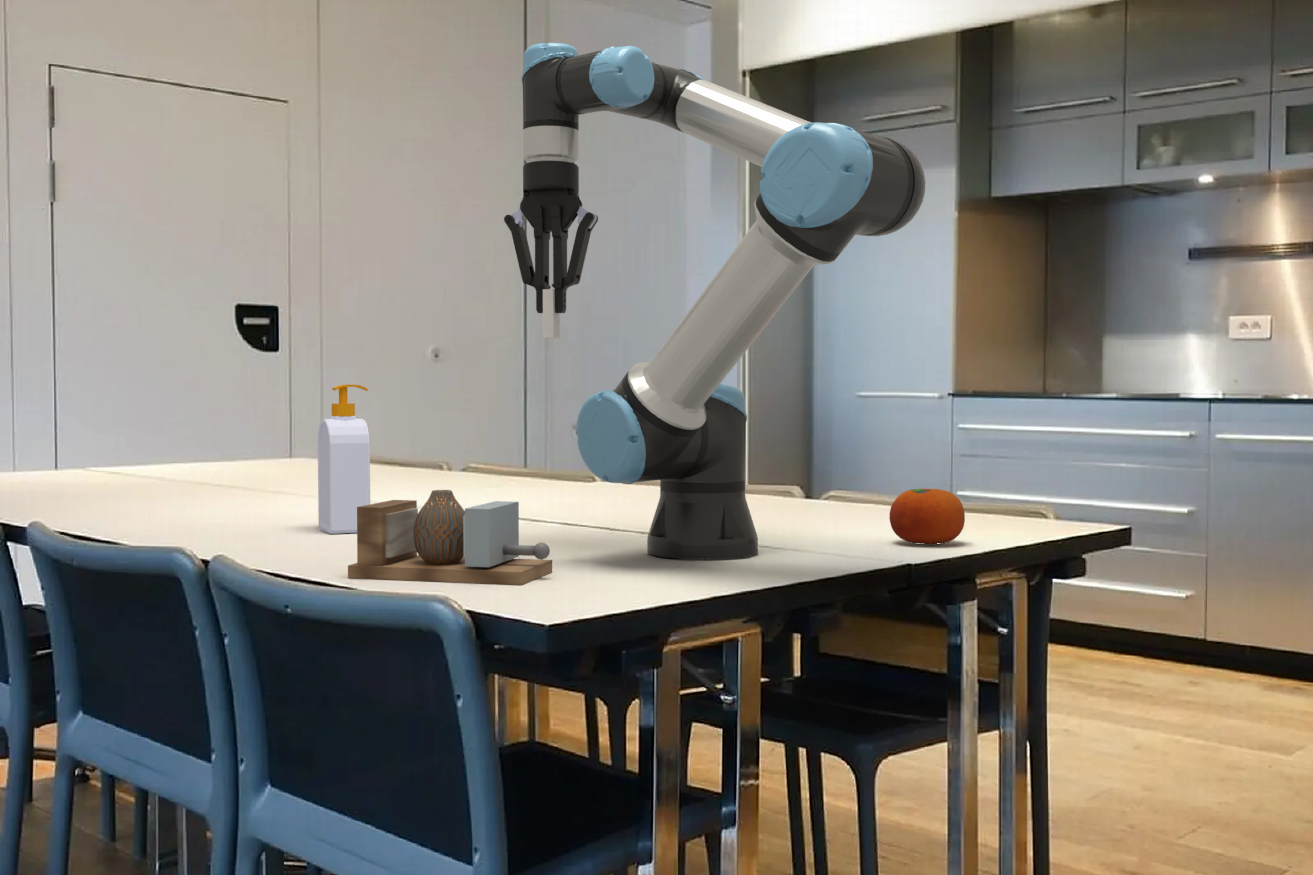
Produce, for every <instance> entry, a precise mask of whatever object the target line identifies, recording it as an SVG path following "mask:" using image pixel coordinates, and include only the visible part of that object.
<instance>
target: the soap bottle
mask: <svg viewBox="0 0 1313 875" xmlns="http://www.w3.org/2000/svg"><path fill="white" fill-rule="evenodd" d="M348 388H357V389H360V390H364V391H365V392H368V390H369V388H367V387H365V386H362V385H360V384H339V385H336V386H334V387H332V388H331V389H332V391H338V403H331V416H330V418H325V419H322V420H321V421H320V423H319V427H318V434H317V482H318V483H317V484H318V485H317V487H318V488H317V489H318V490H317V494H318V496H317V497H318V498H317V499H318V501H317V502H318V503H317V504H318V506H317V507H318V529H319V530H320V529H321V531H323V532H325V533H327V534H329V535H345V533H350V534H357V507H359V506H364V505H370V504H371V443H370V442H371V440H370V439H371V438H370V433H369V427H368V424H367V421H366V420H364V418H357V416H356V411H355V410H356V403H348Z"/></svg>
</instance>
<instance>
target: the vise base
mask: <svg viewBox="0 0 1313 875" xmlns="http://www.w3.org/2000/svg"><path fill="white" fill-rule="evenodd" d="M417 502H418V501H417V499H416V500H415V499H414V500H413V499H411V500H408V499H406V500H405V499H391V500H386V501H381V502H375V503H370V505H364V506H359V507H357V533H356V537H357V538H356V539H357V540H356V545H357V546H356V548H357V550H356V553H357V556H356V559H357V562H355V563H352V564H349V565H347V579H360V580H361V579H362V580H363V579H364V580H391V581H415V582H437V583H463V584H486V585H488V584H490V585H491V584H492V585H509V586H510V585H512V586H513V585H514V586H516V585H517V586H523V585H525V584H527V583H528V584H529V583H530V582H532V581H534V580H537V579H539V578H542V577H545V576H546V575H549V574H551V573H553V559H538V558H536V559H535V558H534V559H533V558H531V559H530V558H513V559H511V560H508V561H505V562H502V563H500V564H497V565H494V566H491V567H468V566H465V558H464V557H463V558H462V559H461V560H460V561H459V562H458V563H453V564H429V563H426V562H425V561H424V560H423V559H422V558H421V557H420V556H419V554H418V553H417V551H416V548H415V544H414V538H413V529H414V523H415V520H416V517H417V515H418V513H419V508H418V504H417Z"/></svg>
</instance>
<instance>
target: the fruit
mask: <svg viewBox="0 0 1313 875" xmlns="http://www.w3.org/2000/svg"><path fill="white" fill-rule="evenodd" d="M965 514H966V513H965V509H964V505H963V503H962V501H961V500H960V499H959V497H957V496H956V495H955V493H953V492H951V491H949V490H948V491H947V490H944V489H938V488H913V489H908V490H905V491H904V492H902V493H900V494H899V495H898V496H897V497H896V498H895V499H894V501H893V502H892V504H891V506H890V509H889V523H890V526H891V529H892V531H893V532H894V534H895V535H896V536H897V537H898V538H900V539H902V540H904V541H905V542H908V543H911V542H912V543H911V544H914V543H924V544H923V545H934V544H937V543H943V544H946V543H945V542H947V543H950V542H952V541H954V540H955V539H956V538H957V537H959V536H960V534H961V532H962V531H963V530H964V527H965V521H966V519H965V518H966V517H965ZM937 545H938V544H937Z"/></svg>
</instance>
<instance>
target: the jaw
mask: <svg viewBox="0 0 1313 875" xmlns="http://www.w3.org/2000/svg"><path fill="white" fill-rule="evenodd" d="M519 503H520V502H519V501H506V500H505V501H503V500H502V501H501V500H500V501H498V500H496V501H495V500H494V501H491V502H487V503H483V504H478V505H474V506H469V507H465V508H464V511H465V515H464V516H463V538H464V558H465V566H468V567H491V566H494V565H497V564H500V563H502V562H505V561H508V560H511V559H517V558H519V557H520V556H527V557H529V556H531V557H534V558H536V559H538V560H546V558H548V557H549V555H550V553H551V549H550V547H549V545H548V544H546V543H545V542H538V543H536V544H535V545H526V544H525V545H524V544H523V545H521V544H519V543H520V540H519V538H520V534H519V532H520V530H519V521H520V511H519V506H520V504H519Z"/></svg>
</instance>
